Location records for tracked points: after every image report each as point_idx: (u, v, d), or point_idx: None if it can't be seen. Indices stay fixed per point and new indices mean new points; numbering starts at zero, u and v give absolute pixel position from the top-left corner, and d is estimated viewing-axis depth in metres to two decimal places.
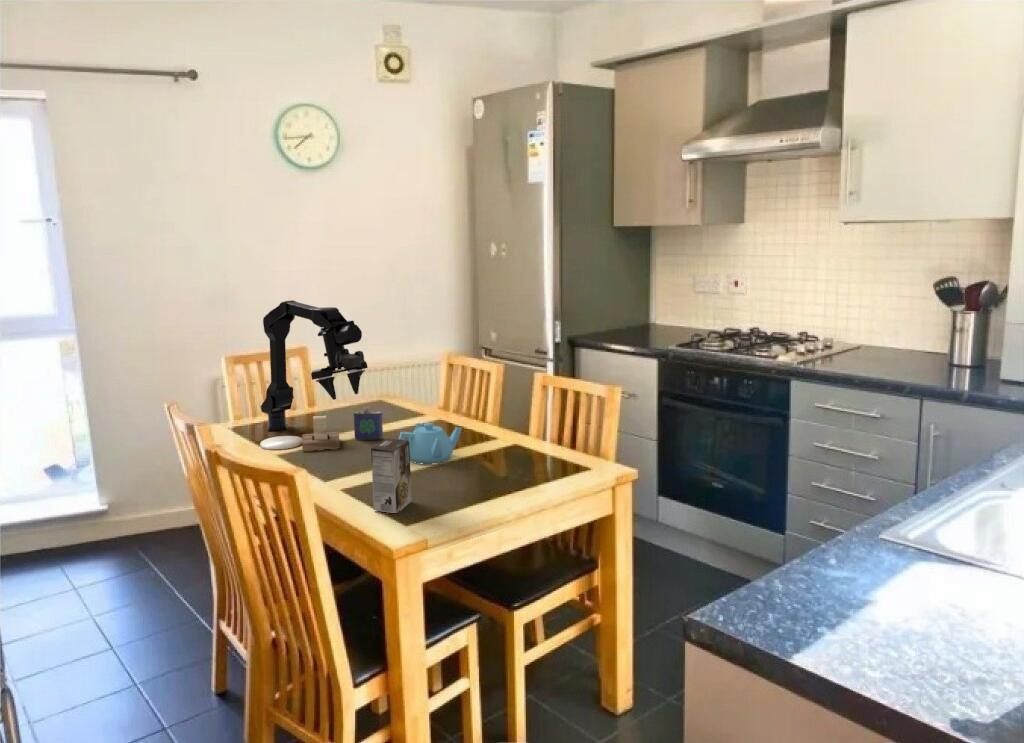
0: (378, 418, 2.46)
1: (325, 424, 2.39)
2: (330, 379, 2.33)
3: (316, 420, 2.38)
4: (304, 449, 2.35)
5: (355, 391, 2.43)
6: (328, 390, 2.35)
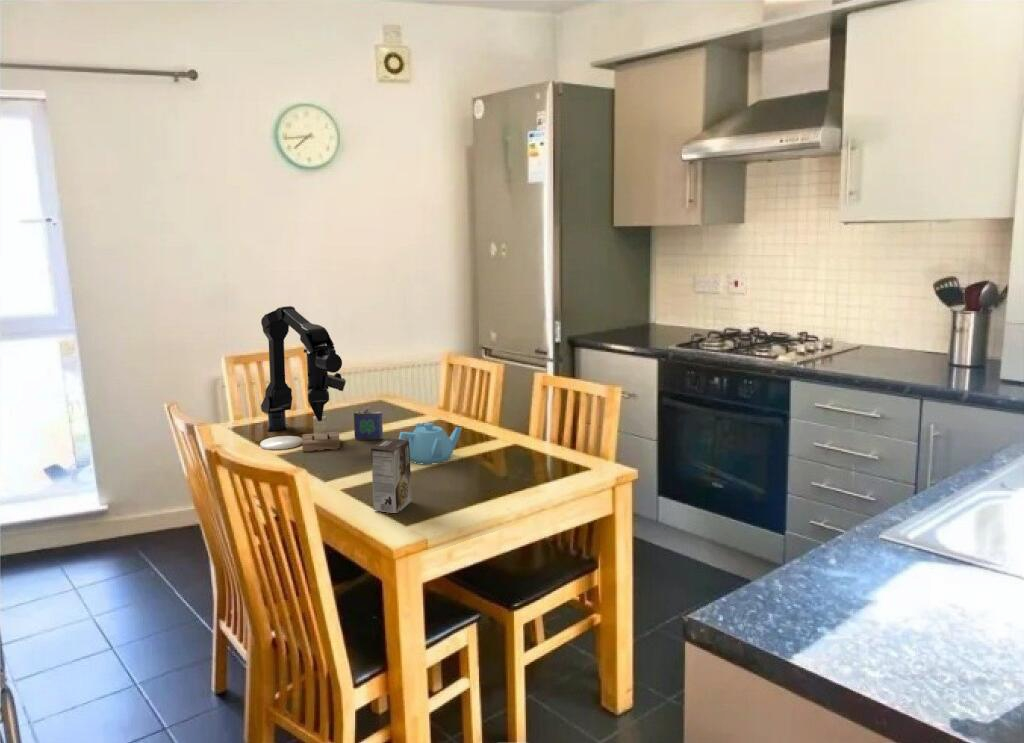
0: (378, 418, 2.46)
1: (325, 424, 2.39)
2: (327, 401, 2.34)
3: (316, 420, 2.38)
4: (304, 449, 2.35)
5: None
6: (317, 411, 2.34)
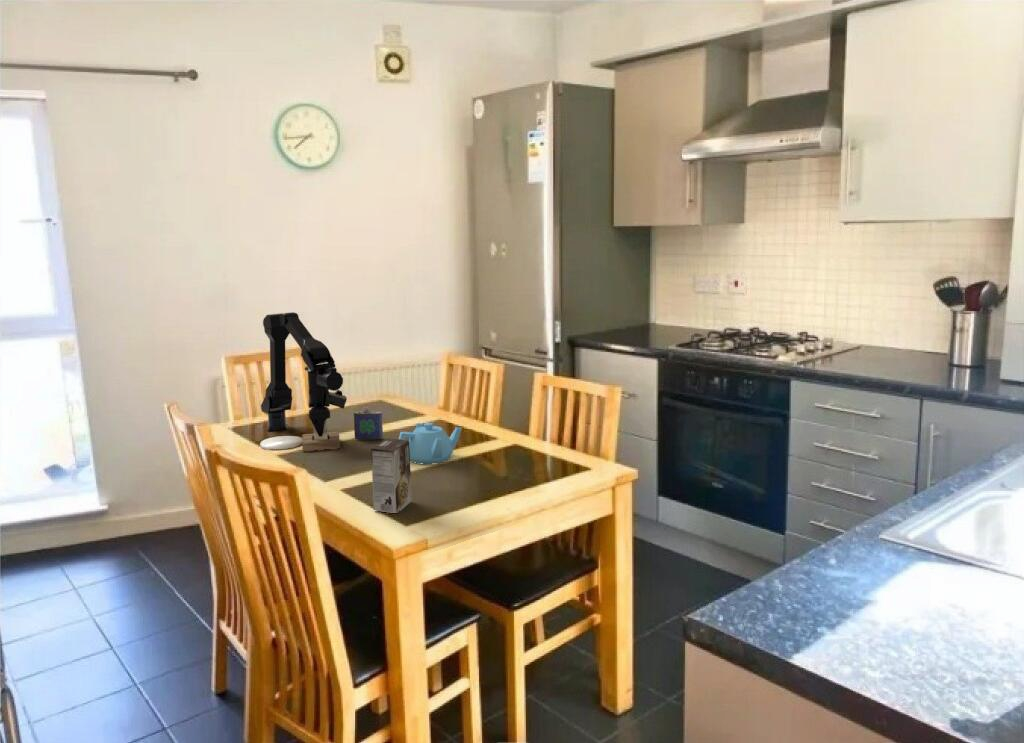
0: (378, 418, 2.46)
1: (325, 424, 2.39)
2: (328, 417, 2.37)
3: None
4: (304, 449, 2.35)
5: None
6: (318, 427, 2.38)
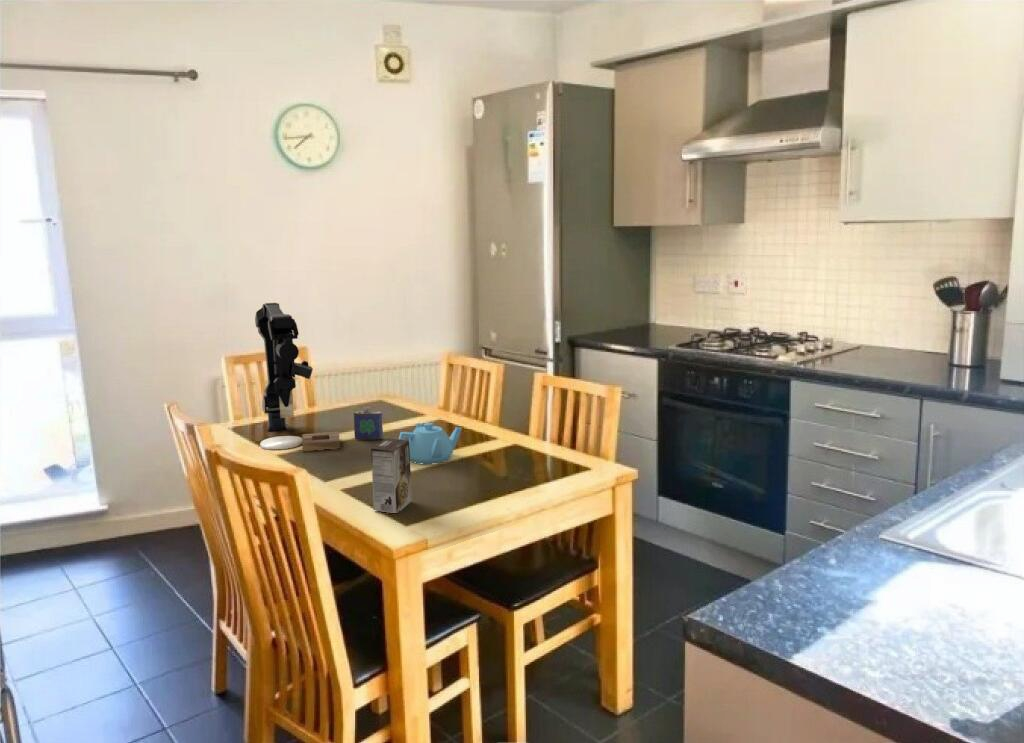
0: (378, 418, 2.46)
1: (291, 394, 2.39)
2: (293, 387, 2.37)
3: None
4: (304, 449, 2.35)
5: None
6: (283, 397, 2.38)
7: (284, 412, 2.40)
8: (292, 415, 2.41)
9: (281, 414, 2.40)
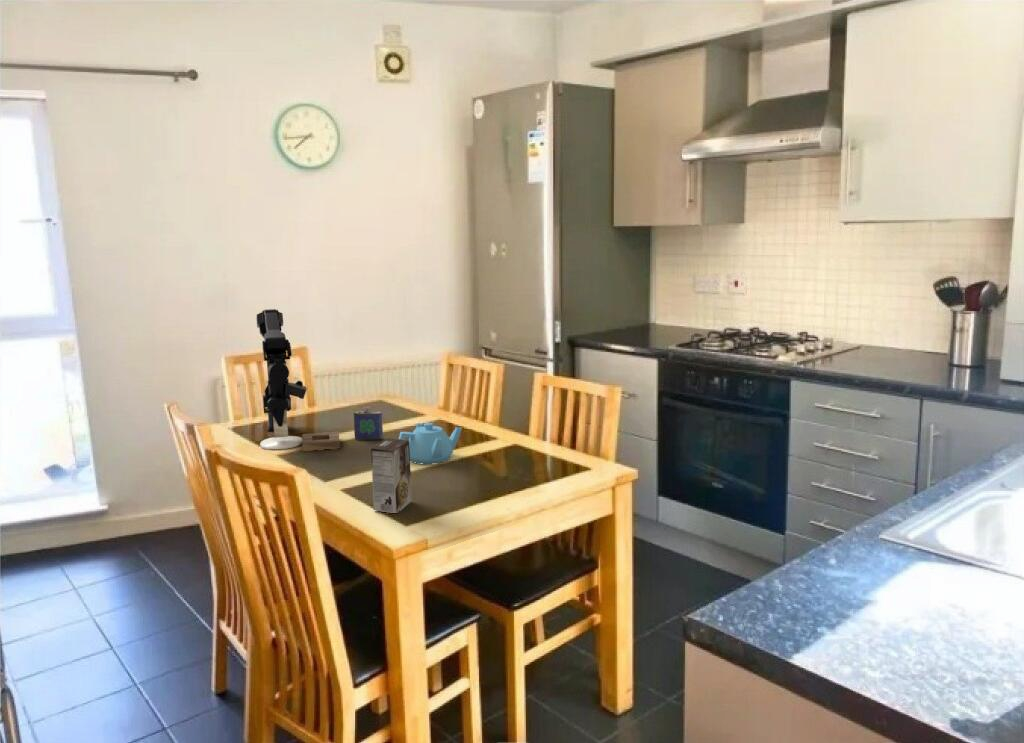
0: (378, 418, 2.46)
1: (285, 414, 2.41)
2: (287, 407, 2.38)
3: None
4: (304, 449, 2.35)
5: None
6: (277, 417, 2.39)
7: (278, 432, 2.41)
8: (286, 435, 2.42)
9: (275, 434, 2.41)
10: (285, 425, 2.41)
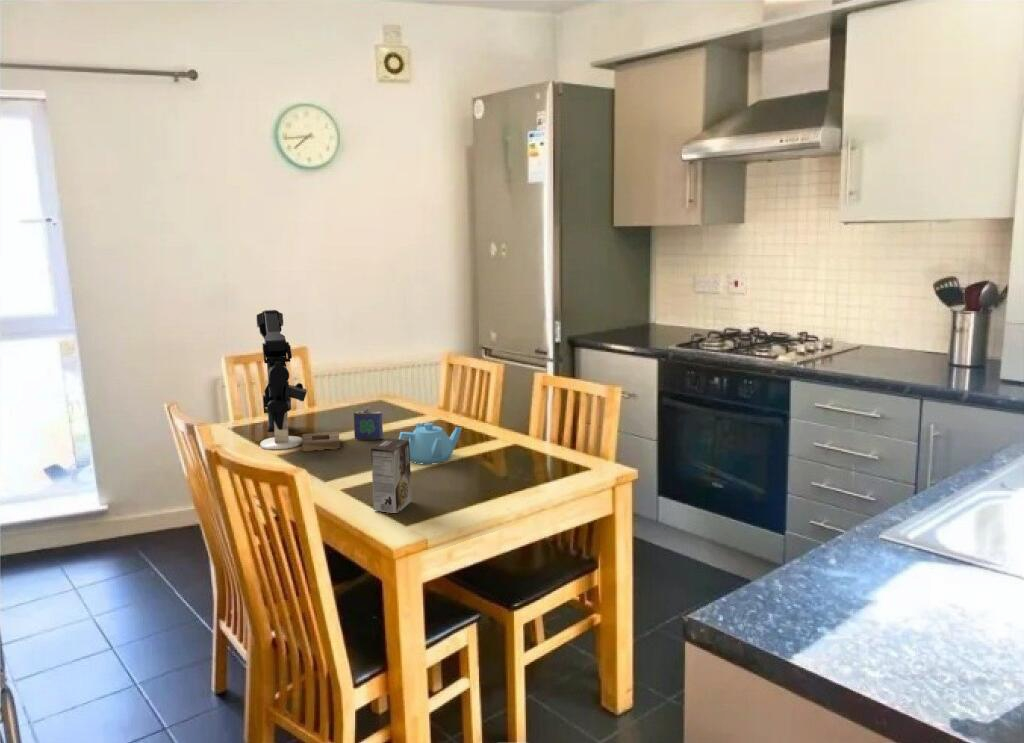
0: (378, 418, 2.46)
1: (286, 420, 2.41)
2: None
3: None
4: (304, 449, 2.35)
5: None
6: (277, 420, 2.38)
7: (278, 438, 2.41)
8: (286, 441, 2.42)
9: (275, 439, 2.41)
10: (286, 431, 2.42)
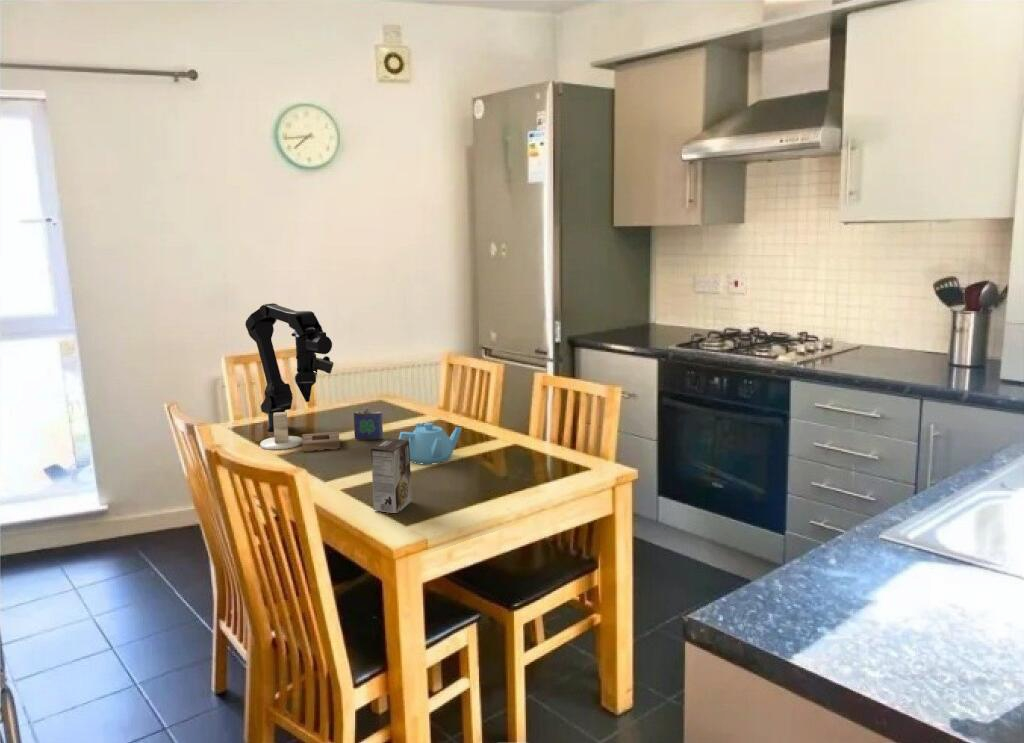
0: (378, 418, 2.46)
1: (285, 420, 2.41)
2: None
3: (276, 416, 2.40)
4: (304, 449, 2.35)
5: None
6: (305, 393, 2.42)
7: (278, 438, 2.41)
8: (286, 441, 2.42)
9: (275, 440, 2.41)
10: (285, 431, 2.42)
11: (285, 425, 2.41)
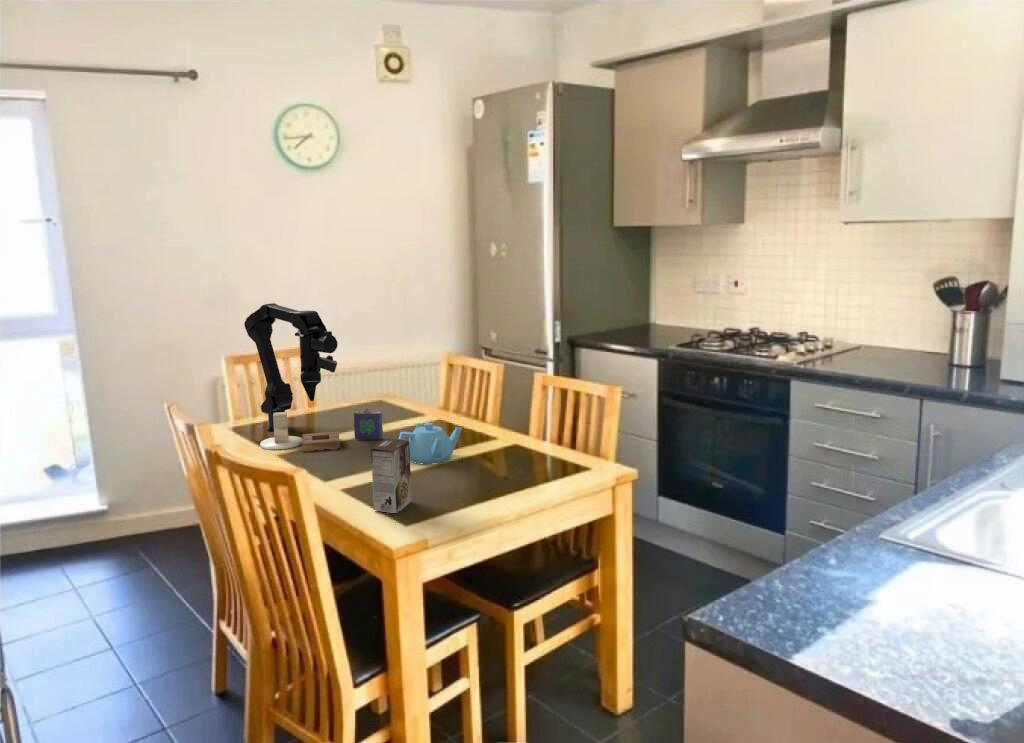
0: (378, 418, 2.46)
1: (285, 420, 2.41)
2: None
3: (276, 416, 2.40)
4: (304, 449, 2.35)
5: None
6: (309, 392, 2.43)
7: (278, 438, 2.41)
8: (286, 441, 2.42)
9: (275, 440, 2.41)
10: (285, 431, 2.42)
11: (285, 425, 2.41)
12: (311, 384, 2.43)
